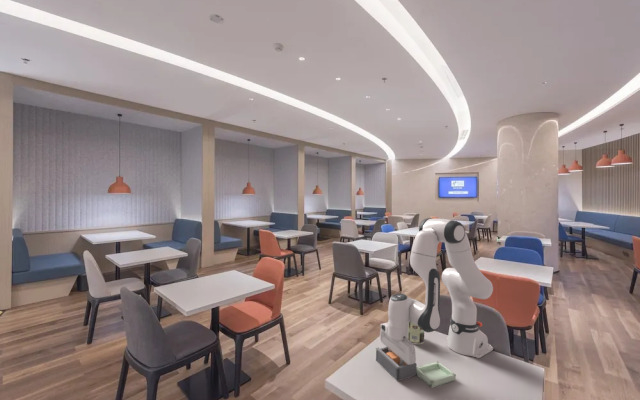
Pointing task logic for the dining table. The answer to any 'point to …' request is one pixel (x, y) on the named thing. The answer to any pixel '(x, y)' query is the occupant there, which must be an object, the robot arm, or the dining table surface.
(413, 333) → the coffee can
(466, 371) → the dining table surface
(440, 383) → the tray
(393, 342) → the robot arm
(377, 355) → the bay
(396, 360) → the orange block
